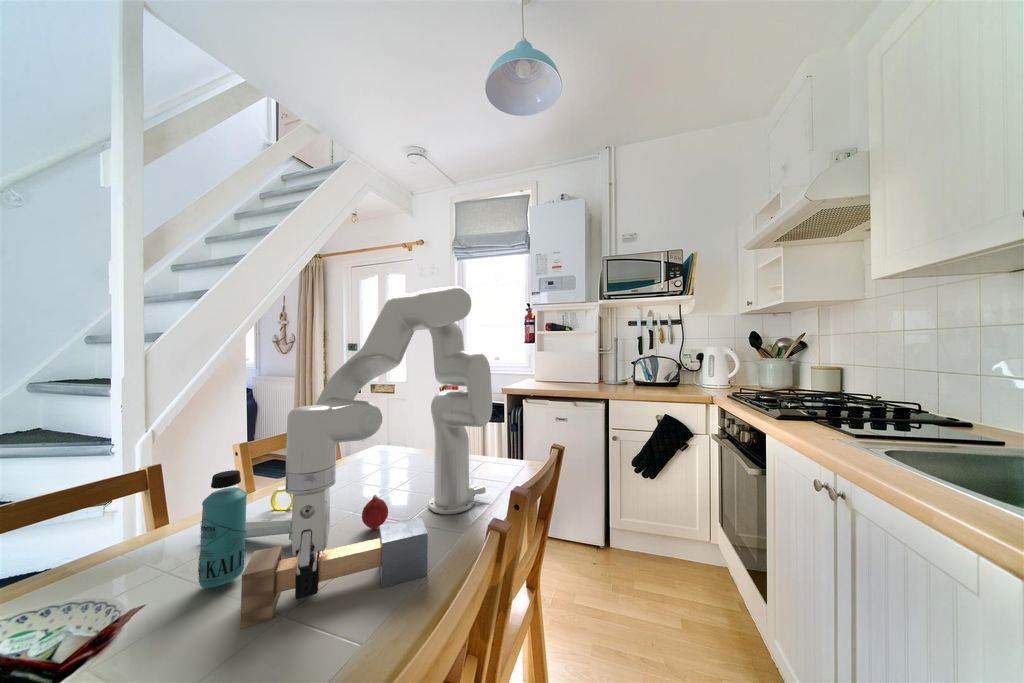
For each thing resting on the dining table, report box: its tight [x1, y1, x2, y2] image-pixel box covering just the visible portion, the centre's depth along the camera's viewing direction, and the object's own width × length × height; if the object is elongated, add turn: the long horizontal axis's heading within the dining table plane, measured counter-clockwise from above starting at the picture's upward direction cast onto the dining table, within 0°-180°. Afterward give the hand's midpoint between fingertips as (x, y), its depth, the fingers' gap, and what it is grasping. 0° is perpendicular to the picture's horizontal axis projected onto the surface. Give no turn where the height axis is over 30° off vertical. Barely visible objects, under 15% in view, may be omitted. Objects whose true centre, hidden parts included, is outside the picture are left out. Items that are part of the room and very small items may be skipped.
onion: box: [361, 494, 389, 530], centre depth 79 cm, size 6×6×8 cm
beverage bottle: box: [197, 469, 248, 589], centre depth 60 cm, size 6×7×20 cm
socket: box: [239, 544, 283, 629], centre depth 54 cm, size 4×7×8 cm, turn 25°
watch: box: [270, 485, 293, 511], centre depth 90 cm, size 6×3×6 cm, turn 89°
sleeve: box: [378, 516, 429, 589], centre depth 64 cm, size 8×7×8 cm
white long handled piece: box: [245, 517, 292, 543], centre depth 74 cm, size 5×7×25 cm
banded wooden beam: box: [274, 537, 382, 594], centre depth 58 cm, size 19×5×5 cm, turn 115°
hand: (309, 583), depth 57 cm, fingers closed on banded wooden beam, 4 cm apart
